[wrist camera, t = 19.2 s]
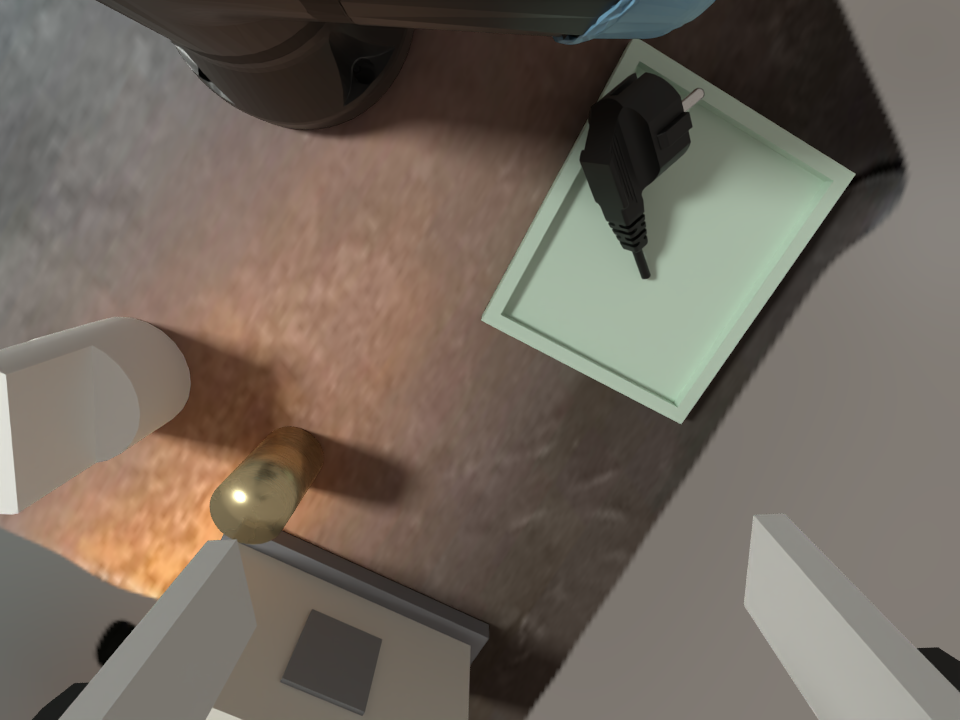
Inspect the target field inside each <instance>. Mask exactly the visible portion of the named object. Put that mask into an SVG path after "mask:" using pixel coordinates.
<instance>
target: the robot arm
mask: <svg viewBox="0 0 960 720" xmlns="http://www.w3.org/2000/svg"><path fill="white" fill-rule="evenodd" d="M96 1H98V2H100V3H102V4H104V5H106V6H108V7H110V8H111V9H113V10H115V11H117V12H119V13H121V14H123V15H125V16H127V17H129V18H131V19H132V20H134V21H136V22H138V23H140V24H142V25H144V26H146V27H148V28H150V29H151V30H153V31H155V32H157V33H159V34H161V35H163V36H165V37H167V38H169V39H170V40H171V42H172V43H173V44H174V45H175V47H176V48H177V50H178V52H179V53H180V54H181V56H182V57H183V59H184V60H185V62H186V63H187V64H188V65H189V67H190V68H191V69H192V71H193V72H194V73H195V74H196V75H197V76H198V77H199V79H200V80H201V81H202V82H203V83H204V84H205V85H206V86H207V87H209V88H210V89H211V90H212V91H213V92H214V93H216V94H217V95H218V96H219V97H221V98H222V99H223V100H225V101H226V102H228V103H229V104H231V105H232V106H234V107H235V108H237V109H239V110H241V111H243V112H245V113H247V114H249V115H251V116H254V117H256V118H259V119H261V120H263V121H266V122H269V123H271V124H275V125H278V126H282V127H287V128H293V129H320V128H326V127H331V126H334V125H338V124H341V123H343V122H346V121H348V120H350V119H352V118H354V117H356V116H358V115H359V114H361V113H363V112H364V111H365V110H367V109H368V108H370V107H371V106H372V105H373V104H374V103H375V102H376V101H377V100H379V99H380V98H381V97H382V95H383V94H384V93H385V92H386V91H387V90H388V88H389V87H390V86H391V84H392V83H393V81H394V80H395V78H396V77H397V75H398V73H399V71H400V69H401V68H402V65H403V63H404V61H405V59H406V56H407V53H408V51H409V48H410V44H411V41H412V36H413V32H414V28H418V29H435V30H452V31H469V32H486V33H503V34H520V35H537V36H552V37H553V39H554V41H556V42H558V43H562V44H569V45H574V44H578V43H581V42H585V41H589V40H591V39H593V38H596V39H649V38H655V37H659V36H663V35H665V34H667V33H669V32H670V31H672V30H673V29H676V28H679V27H681V26H683V25H684V24H685V23H688V22H690V21H692V20H694V19H695V18H696V17H698V16H699V15H700V14H702V13H703V12H704V11H705V10H706V9H707V8H708V7H710V6H711V5H712V4H713V3H714V2H715V1H716V0H96ZM750 544H751V545H750V553H749V563H748V571H747V581H746V591H745V599H744V606H745V608H746V609H747V611H748V612H749V613H750V615H751V617H752V618H753V619H754V621H755V623H756V624H757V626H758V627H759V629H760V630H761V632H762V634H763V635H764V637H765V638H766V640H767V641H768V643H769V644H770V646H771V647H772V649H773V651H774V652H775V653H776V655H777V657H778V658H779V660H780V661H781V663H782V664H783V666H784V667H785V669H786V671H787V672H788V674H789V675H790V677H791V678H792V680H793V681H794V683H795V684H796V686H797V687H798V689H799V691H800V692H801V694H802V695H803V697H804V698H805V700H806V701H807V703H808V704H809V706H810V707H811V709H812V711H813V712H814V713H815V715H816V717H817V718H818V720H960V661H958V660H957V659H955V658H954V657H952V656H950V655H949V654H947V653H946V652H944V651H943V650H941V649H940V648H916V647H915V646H914V645H913V644H912V643H911V642H910V641H909V640H908V639H907V638H906V637H905V636H904V635H903V634H902V633H901V632H900V631H899V630H898V629H897V628H896V627H895V626H894V625H893V624H892V623H891V622H890V621H889V620H888V619H887V618H886V617H885V616H884V615H883V614H882V613H881V612H880V611H879V610H878V608H877V607H876V606H875V605H874V604H873V603H872V602H871V601H870V600H869V599H868V598H867V597H866V596H865V595H864V594H863V593H862V592H861V591H860V590H859V589H858V588H857V587H856V586H855V585H854V584H853V583H852V582H851V581H850V580H849V579H848V578H847V577H846V576H845V575H844V574H843V573H842V572H841V571H840V570H839V569H838V568H837V567H836V566H835V564H834V563H833V562H832V561H831V560H830V559H829V558H828V557H827V556H826V555H825V554H824V553H823V552H822V551H821V550H820V549H819V548H818V547H817V546H816V545H815V544H814V543H813V542H812V541H811V540H810V539H809V538H808V537H807V536H806V535H805V534H804V533H803V532H802V531H801V530H800V529H799V528H798V527H797V526H796V525H795V524H794V523H793V522H792V521H791V520H790V518H789V517H788V516H787V515H785V514H764V515H754V516H753V525H752V535H751V543H750ZM256 627H257V623H256V619H255V614H254V610H253V606H252V602H251V597H250V593H249V589H248V585H247V580H246V576H245V572H244V568H243V563H242V559H241V555H240V551H239V546H238V542H237V539H235V540H213V541H207V542H206V543H205V545H204V546H203V547H202V548H201V549H200V551H199V552H198V553H197V554H196V555H195V557H194V558H193V559H192V560H191V561H190V563H189V564H188V565H187V566H186V567H185V568H184V570H183V571H182V572H181V573H180V574H179V576H178V577H177V578H176V579H175V580H174V582H173V583H172V584H171V585H170V586H169V588H168V589H167V590H166V591H165V592H164V594H163V595H162V596H161V597H160V598H159V600H158V601H157V602H156V603H155V605H154V606H153V607H152V608H151V610H149V612H148V613H147V614H146V615H145V616H144V618H143V619H142V620H141V621H140V623H139V624H138V625H137V626H136V627H135V628H134V630H133V631H132V632H131V633H130V634H129V636H128V637H127V638H126V639H125V640H124V642H123V643H122V644H121V645H120V646H119V648H118V649H117V650H116V651H115V652H114V654H113V655H112V656H111V657H110V658H109V660H108V661H107V662H106V663H105V664H104V666H103V667H102V668H101V669H100V670H99V672H98V673H97V674H96V675H95V676H94V678H93V679H92V680H91V681H90V682H89V683H74V684H73V685H71V686H70V687H69V688H68V689H66V690H65V691H64V692H62V693H61V694H60V695H59V696H57V697H56V698H55V699H53V700H52V701H51V702H50V703H48V704H47V705H46V706H45V707H44V708H42V709H41V710H40V711H39V713H38V714H37V715H36V716H35V717H34V718H33V719H32V720H206V718H207V716H208V715H209V713H210V711H211V709H212V707H213V705H214V704H215V702H216V700H217V698H218V696H219V694H220V693H221V691H222V689H223V687H224V685H225V683H226V682H227V680H228V678H229V676H230V674H231V672H232V671H233V669H234V667H235V665H236V663H237V661H238V660H239V658H240V656H241V654H242V652H243V651H244V649H245V647H246V645H247V643H248V641H249V640H250V638H251V636H252V634H253V632H254V630H255V629H256Z"/></svg>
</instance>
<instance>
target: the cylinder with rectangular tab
mask: <svg viewBox="0 0 960 720" xmlns="http://www.w3.org/2000/svg"><path fill="white" fill-rule="evenodd" d="M190 387H191V380H190V371H189V368H188V365H187V363H186V360H185V358H184V355H183V354H182V352H181V351H180V349H179V348H178V347H177V345H176V344H175V342H174V341H173V340H172V339H170V338H169V337H168V336H167V335H166V334H165V333H164V332H163V331H162V330H160V329H158V328H156V327H155V326H153V325H151V324H149V323H148V322H144V321H141V320H138V319H135V318H130V317H112V318H108V319H103V320H99V321H96V322H92V323H89V324H85V325H82V326H78V327H75V328H71V329H67V330H64V331H60V332H57V333H53V334H50V335H46V336H43V337H39V338H36V339H32V340H30V341H28V342H25V343H21V344H18V345H14V346H11V347H7V348H4V349H0V514H17V513H19V512H21V511H23V510H24V509H26V508H27V507H29V506H30V505H32V504H33V503H35V502H36V501H38V500H40V499H41V498H43V497H44V496H46V495H47V494H49V493H50V492H52V491H53V490H55V489H56V488H58V487H60V486H61V485H63V484H64V483H66V482H67V481H69V480H70V479H72V478H73V477H75V476H77V475H78V474H80V473H81V472H83V471H84V470H86V469H87V468H89V467H90V466H92V465H94V464H95V463H97V462H102V461H107V460H109V459H111V458H113V457H115V456H117V455H119V454H121V453H122V452H124V451H125V450H127V449H128V448H130V447H131V446H133V445H134V444H136V443H137V442H139V441H140V440H142V439H143V438H145V437H146V436H148V435H149V434H151V433H152V432H154V431H155V430H157V429H158V428H160V427H161V426H163V425H164V424H166V423H167V422H169V421H170V420H172V419H173V418H174V417H175V416H176V415H177V414H178V413H179V412H180V411H182V410H183V408H184V406H185V404H186V402H187V400H188V398H189V393H190Z"/></svg>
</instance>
